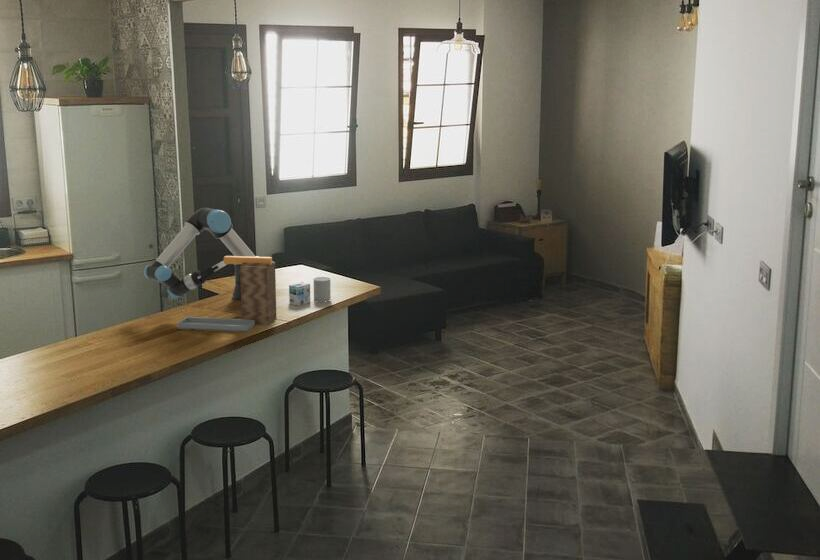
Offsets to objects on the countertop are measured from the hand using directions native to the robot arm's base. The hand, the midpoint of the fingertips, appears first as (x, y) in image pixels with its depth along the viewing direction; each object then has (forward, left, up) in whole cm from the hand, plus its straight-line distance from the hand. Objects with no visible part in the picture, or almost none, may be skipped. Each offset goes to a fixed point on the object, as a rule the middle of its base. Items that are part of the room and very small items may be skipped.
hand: (228, 260), depth 444 cm
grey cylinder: (+2, +61, -32) cm, 69 cm away
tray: (+6, -13, -31) cm, 35 cm away
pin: (+8, +6, -1) cm, 10 cm away
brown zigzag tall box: (+12, +9, -31) cm, 35 cm away
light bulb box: (-2, +48, -32) cm, 58 cm away
